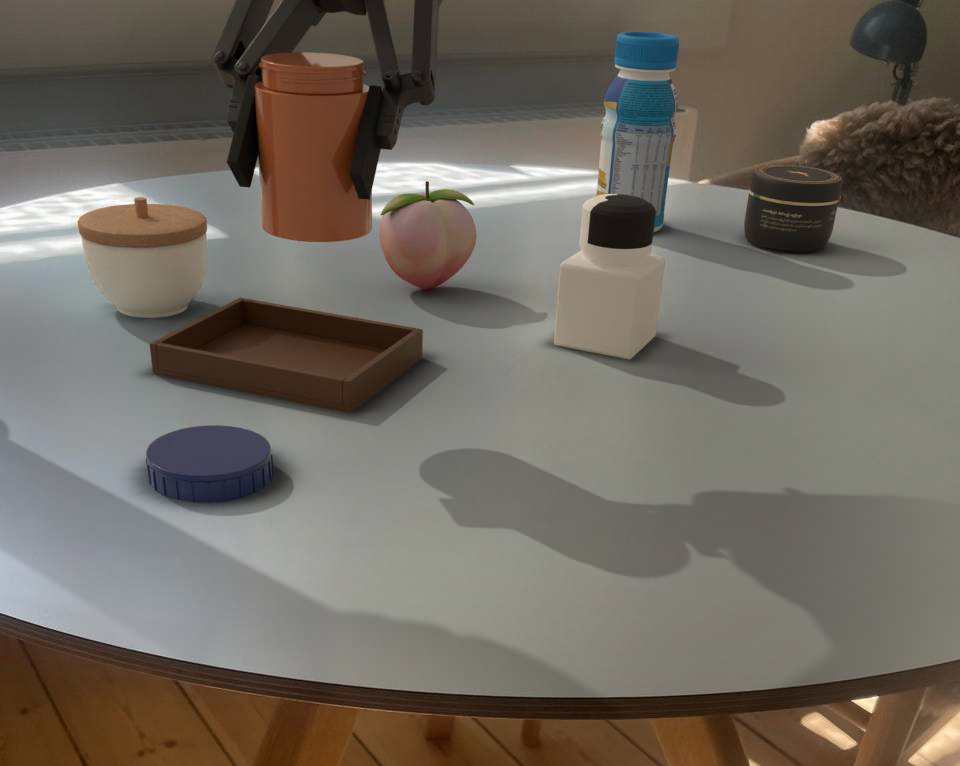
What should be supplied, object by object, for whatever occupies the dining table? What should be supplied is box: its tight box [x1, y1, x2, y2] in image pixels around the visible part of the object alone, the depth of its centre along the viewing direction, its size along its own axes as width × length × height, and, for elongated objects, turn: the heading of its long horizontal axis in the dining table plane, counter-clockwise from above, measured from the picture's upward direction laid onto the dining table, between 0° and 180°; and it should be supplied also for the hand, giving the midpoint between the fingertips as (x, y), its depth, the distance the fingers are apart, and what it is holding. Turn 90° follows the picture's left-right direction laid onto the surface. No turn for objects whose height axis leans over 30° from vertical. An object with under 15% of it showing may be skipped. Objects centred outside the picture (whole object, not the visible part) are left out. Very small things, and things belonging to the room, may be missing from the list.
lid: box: [145, 424, 274, 503], centre depth 75 cm, size 8×8×2 cm
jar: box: [743, 164, 843, 255], centre depth 129 cm, size 10×10×8 cm
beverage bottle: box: [595, 31, 680, 233], centre depth 130 cm, size 8×8×20 cm
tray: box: [149, 297, 424, 414], centre depth 92 cm, size 17×13×2 cm
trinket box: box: [77, 196, 208, 319], centre depth 101 cm, size 11×11×9 cm
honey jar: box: [254, 51, 373, 243], centre depth 78 cm, size 8×8×11 cm
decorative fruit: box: [378, 180, 478, 291], centre depth 109 cm, size 9×8×10 cm
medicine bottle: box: [553, 194, 666, 360], centre depth 98 cm, size 7×7×12 cm
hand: (298, 180), depth 76 cm, fingers closed on honey jar, 8 cm apart
